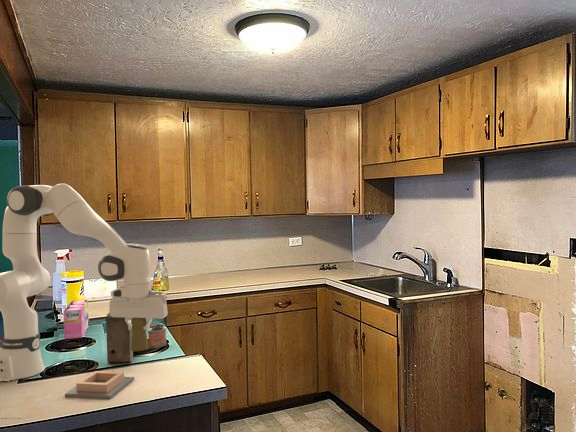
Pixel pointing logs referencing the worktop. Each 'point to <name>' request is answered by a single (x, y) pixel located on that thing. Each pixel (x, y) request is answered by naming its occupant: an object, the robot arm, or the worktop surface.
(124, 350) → the vintage camera
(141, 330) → the olive peg figure
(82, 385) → the socket block
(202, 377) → the worktop surface
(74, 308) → the gum box
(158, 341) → the lighter
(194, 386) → the worktop surface
